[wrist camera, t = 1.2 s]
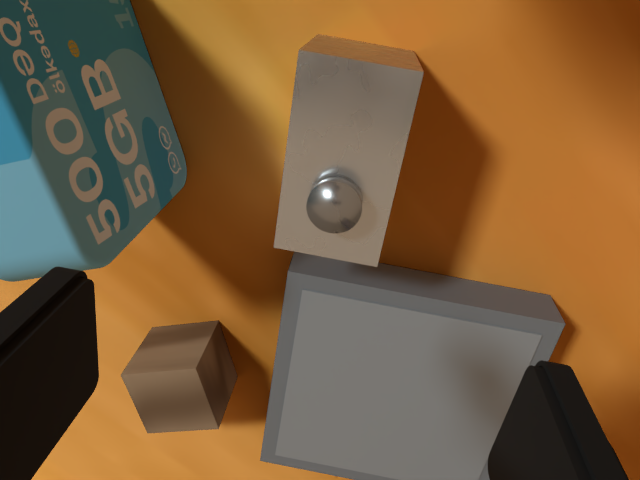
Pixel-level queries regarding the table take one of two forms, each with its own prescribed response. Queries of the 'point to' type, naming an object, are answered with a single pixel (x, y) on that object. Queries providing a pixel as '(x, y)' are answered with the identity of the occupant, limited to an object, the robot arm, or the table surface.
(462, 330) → the grey square tray
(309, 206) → the block
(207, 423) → the walnut block
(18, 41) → the data package
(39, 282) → the robot arm
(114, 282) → the table surface
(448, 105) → the table surface
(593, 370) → the table surface
